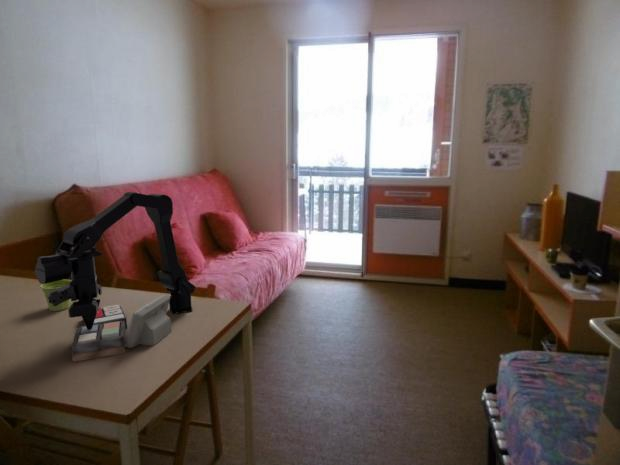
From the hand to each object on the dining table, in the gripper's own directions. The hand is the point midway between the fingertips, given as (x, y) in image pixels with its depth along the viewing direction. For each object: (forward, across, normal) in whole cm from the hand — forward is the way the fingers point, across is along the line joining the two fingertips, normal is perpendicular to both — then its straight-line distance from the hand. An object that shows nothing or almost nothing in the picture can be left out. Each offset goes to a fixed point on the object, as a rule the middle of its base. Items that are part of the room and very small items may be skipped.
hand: (89, 328), depth 111 cm
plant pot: (+4, -34, -12) cm, 36 cm away
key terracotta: (+2, 0, +5) cm, 6 cm away
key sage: (+1, +5, +5) cm, 8 cm away
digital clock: (+5, +2, +15) cm, 16 cm away
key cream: (+2, +5, 0) cm, 6 cm away
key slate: (+2, 0, 0) cm, 2 cm away
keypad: (+4, +3, +3) cm, 6 cm away
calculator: (+5, -13, +3) cm, 14 cm away
